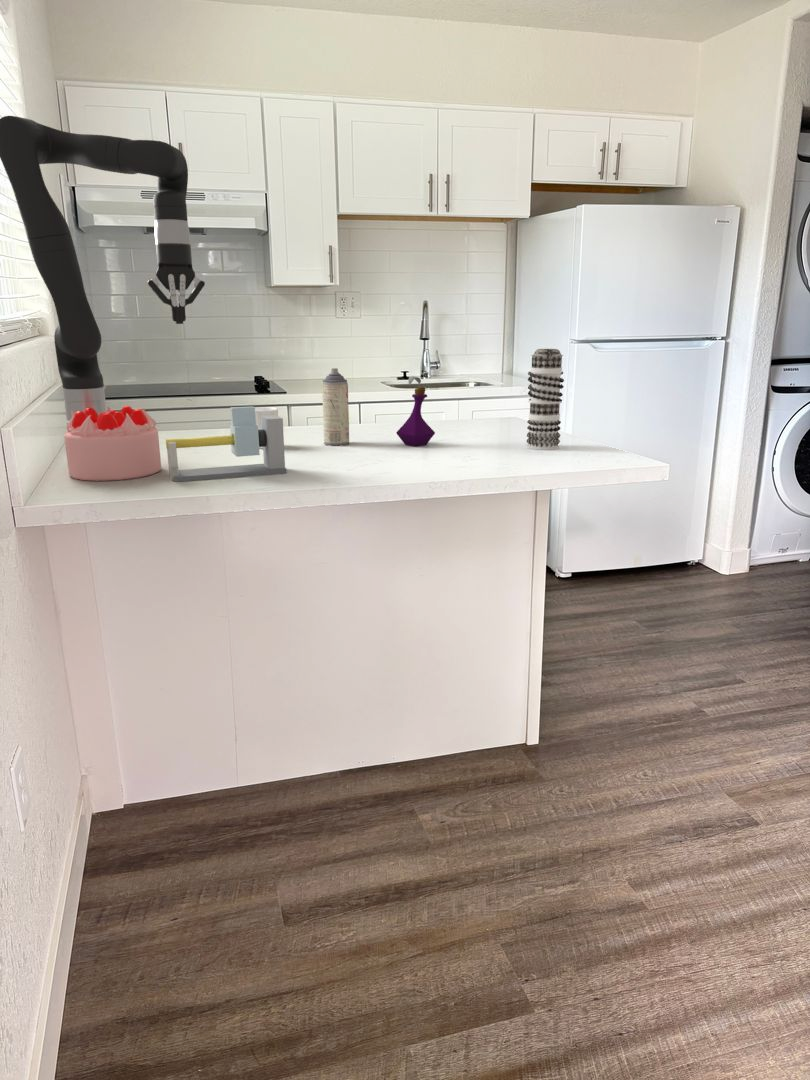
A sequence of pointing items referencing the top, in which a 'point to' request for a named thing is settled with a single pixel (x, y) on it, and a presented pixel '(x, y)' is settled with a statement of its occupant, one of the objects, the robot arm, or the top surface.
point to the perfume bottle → (416, 421)
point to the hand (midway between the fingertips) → (179, 323)
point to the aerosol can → (335, 409)
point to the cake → (112, 445)
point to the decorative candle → (545, 399)
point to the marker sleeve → (244, 431)
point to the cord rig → (268, 439)
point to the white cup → (264, 412)
